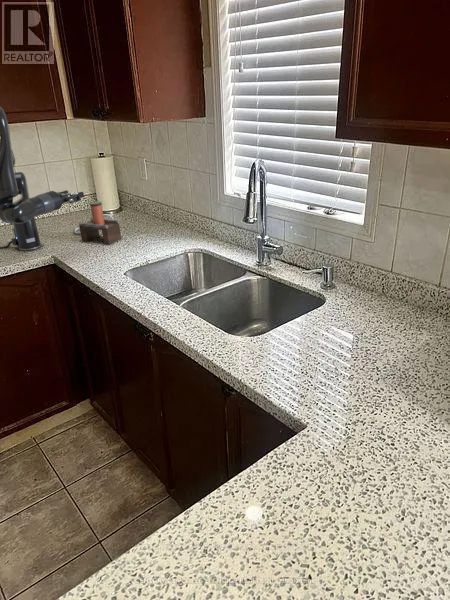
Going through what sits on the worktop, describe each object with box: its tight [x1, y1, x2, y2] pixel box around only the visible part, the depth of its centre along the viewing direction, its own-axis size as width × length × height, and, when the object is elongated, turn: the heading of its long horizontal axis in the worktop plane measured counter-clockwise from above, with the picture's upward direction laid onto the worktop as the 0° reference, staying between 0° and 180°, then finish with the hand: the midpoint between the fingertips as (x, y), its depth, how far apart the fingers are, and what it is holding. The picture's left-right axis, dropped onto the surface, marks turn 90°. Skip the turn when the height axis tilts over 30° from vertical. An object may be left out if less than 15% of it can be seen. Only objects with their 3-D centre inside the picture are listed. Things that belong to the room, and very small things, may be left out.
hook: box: [74, 213, 115, 235], centre depth 223 cm, size 7×9×20 cm
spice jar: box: [89, 200, 105, 225], centre depth 203 cm, size 5×5×10 cm
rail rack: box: [78, 217, 122, 246], centre depth 207 cm, size 16×9×9 cm, turn 64°
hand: (75, 193), depth 189 cm, fingers open, 8 cm apart
